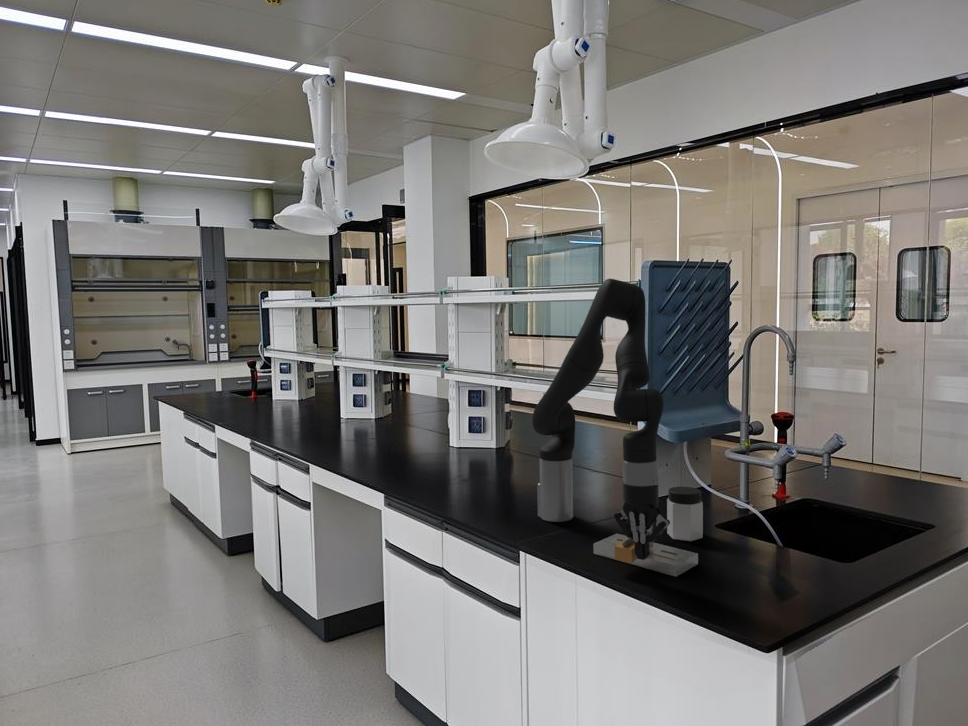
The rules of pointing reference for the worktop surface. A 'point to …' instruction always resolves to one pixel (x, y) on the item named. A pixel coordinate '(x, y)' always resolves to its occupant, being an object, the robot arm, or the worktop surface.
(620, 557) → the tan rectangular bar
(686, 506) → the jar
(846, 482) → the worktop surface
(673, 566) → the plate
